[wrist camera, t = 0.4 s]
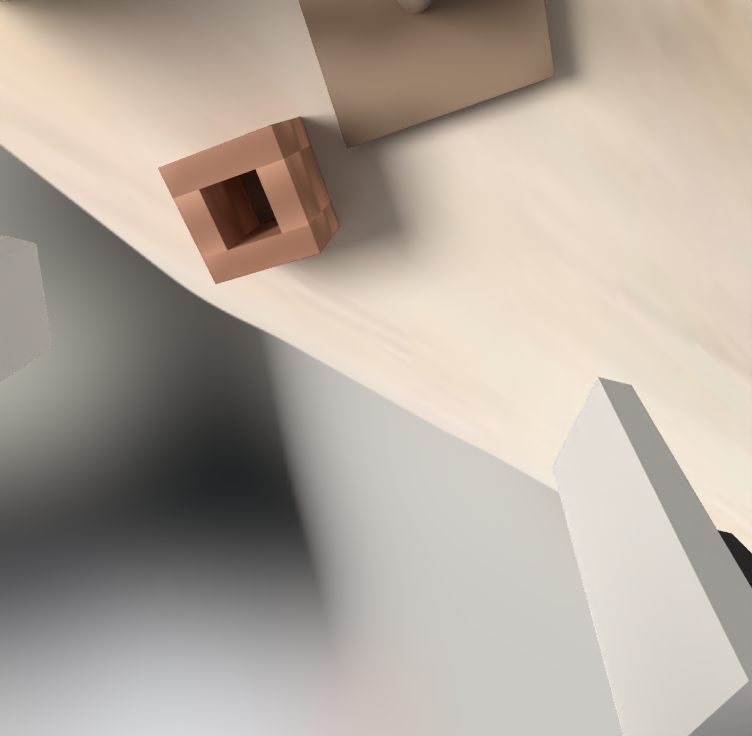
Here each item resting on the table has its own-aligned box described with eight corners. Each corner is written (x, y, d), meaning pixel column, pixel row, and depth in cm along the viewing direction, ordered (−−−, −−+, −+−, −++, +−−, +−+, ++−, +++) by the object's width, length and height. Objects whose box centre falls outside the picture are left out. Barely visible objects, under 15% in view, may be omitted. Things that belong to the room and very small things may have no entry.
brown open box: (203, 153, 33) (157, 168, 28) (300, 116, 31) (270, 125, 26) (249, 254, 36) (215, 284, 31) (339, 226, 34) (319, 253, 29)
